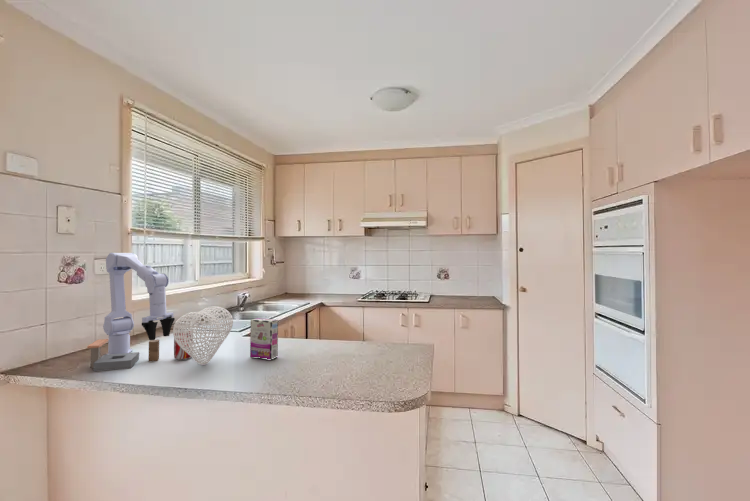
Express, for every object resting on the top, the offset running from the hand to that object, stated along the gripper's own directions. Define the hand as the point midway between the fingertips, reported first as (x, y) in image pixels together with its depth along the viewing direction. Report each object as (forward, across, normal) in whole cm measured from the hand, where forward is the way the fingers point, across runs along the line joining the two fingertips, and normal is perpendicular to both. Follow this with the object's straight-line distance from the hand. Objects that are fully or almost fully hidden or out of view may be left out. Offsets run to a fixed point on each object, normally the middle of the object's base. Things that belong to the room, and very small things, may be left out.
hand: (159, 338), depth 148 cm
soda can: (+11, +9, -3) cm, 14 cm away
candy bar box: (+13, +17, -35) cm, 42 cm away
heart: (+12, +3, -17) cm, 21 cm away
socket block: (+9, -5, +16) cm, 19 cm away
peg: (+10, +4, +7) cm, 12 cm away
